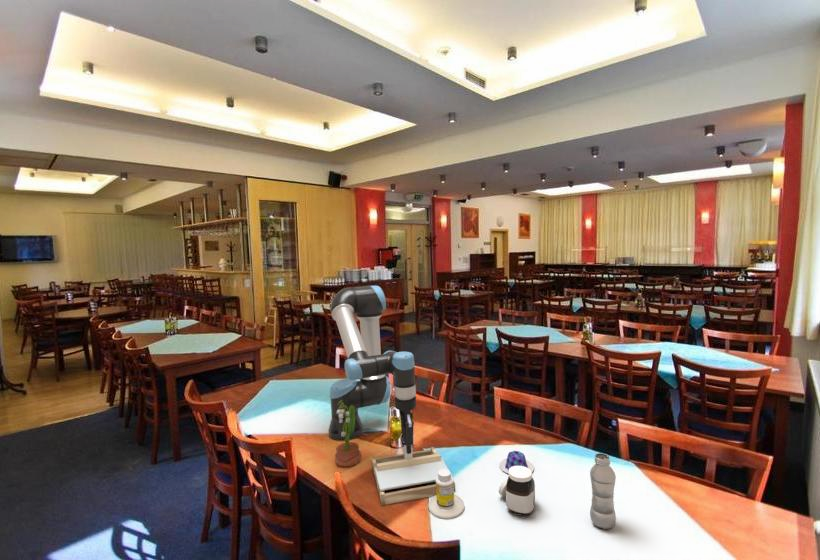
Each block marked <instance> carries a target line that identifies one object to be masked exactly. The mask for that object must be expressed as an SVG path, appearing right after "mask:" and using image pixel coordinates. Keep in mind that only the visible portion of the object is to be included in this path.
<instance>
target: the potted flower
mask: <svg viewBox="0 0 820 560" xmlns="http://www.w3.org/2000/svg"><path fill="white" fill-rule="evenodd" d="M341 401H342V400H341ZM341 401H340V402H341ZM338 404H339V403H338ZM342 404H343V405H342ZM341 405H342V407H344V409H341ZM345 407H347V406H345V405H344V403H343V402H342V403H341V404H340V409H338V410H337V413H338V414H339V419H340V420H339V423H342V422H343V420H342V418H344V417H343V415H344V414H345V415H344V416H345V423H344V425H343V429H344V431H343V432H342V433H341V435H342V436H343V437H344V436H345V440H344V442H343V443H340V444H338V445H337V447H336V448H335V450H336V453H335V456H334V461H335V463H336V464H337V465H339V466H341V467H351V466H354V465H356V464H358V463H359V461H360V460H361V458H362V453H361V450H360V444H358V443H357V442H354V441H350V440H351V439H350V436H351V434H352V432H353V430H354V424H355V410H354V406H353V405H351V406H350V407H349V410H348V408H347V412H346V409H345ZM337 413H336V414H337ZM343 413H344V414H343Z"/></svg>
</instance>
